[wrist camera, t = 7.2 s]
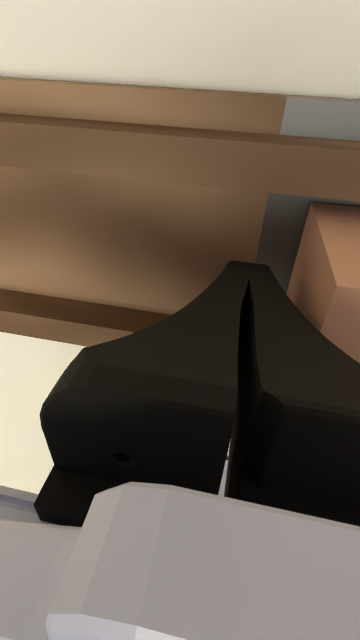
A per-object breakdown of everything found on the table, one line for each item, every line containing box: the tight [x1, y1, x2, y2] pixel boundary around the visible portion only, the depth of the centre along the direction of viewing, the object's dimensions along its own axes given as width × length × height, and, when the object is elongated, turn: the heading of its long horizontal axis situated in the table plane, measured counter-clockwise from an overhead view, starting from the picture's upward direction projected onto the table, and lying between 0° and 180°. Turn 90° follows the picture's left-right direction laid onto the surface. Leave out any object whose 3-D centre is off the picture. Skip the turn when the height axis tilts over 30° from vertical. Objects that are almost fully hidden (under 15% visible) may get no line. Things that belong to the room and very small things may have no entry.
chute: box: [0, 77, 360, 347], centre depth 12 cm, size 10×22×2 cm, turn 88°
